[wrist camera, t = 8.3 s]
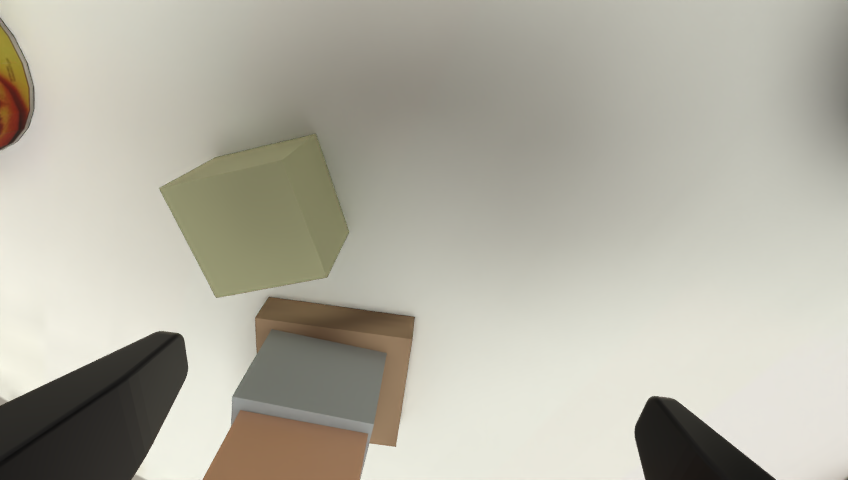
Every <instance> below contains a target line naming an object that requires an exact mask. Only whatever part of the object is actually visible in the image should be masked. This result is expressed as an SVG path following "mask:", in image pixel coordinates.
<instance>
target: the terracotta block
mask: <svg viewBox="0 0 848 480" xmlns="http://www.w3.org/2000/svg"><path fill="white" fill-rule="evenodd" d="M367 438H368V433H362V432H357V431H351V430H346V429H341V428H335V427H330V426H324V425H319V424H313V423H308V422H302V421H297V420H292V419H286V418H281V417H275V416H270V415H264V414H259V413H253V412H248V411H243V410H240V411H239V413H238V415H237V417H236V419H235V421H234V422H233V424H232V426H231V428H230V430H229V432H228V434H227V435H226V437H225V439H224V441H223V443H222V445H221V447H220V448H219V450H218V452H217V454H216V456H215V458H214V459H213V461H212V463H211V465H210V467H209V469H208V471H207V472H206V474H205V476H204V478H203V480H360V475H361V470H362V464H363V459H364V454H365V448H366V443H367Z"/></svg>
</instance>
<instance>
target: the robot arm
mask: <svg viewBox="0 0 848 480" xmlns="http://www.w3.org/2000/svg"><path fill="white" fill-rule="evenodd" d="M187 372H188V362H187V356H186V349H185V342H184V338H183V336H182V335H181V334H179V333H173V332H165V331H159V332H155V333H153V334H151V335H149V336H147V337H145V338H142V339H140V340H138V341H136V342H134V343H132V344H130V345H128V346H126V347H123V348H121V349H119V350H117V351H115V352H113V353H111V354H109V355H107V356H104V357H102V358H100V359H98V360H96V361H94V362H92V363H90V364H87V365H85V366H83V367H81V368H79V369H77V370H75V371H73V372H71V373H68V374H66V375H64V376H62V377H60V378H58V379H56V380H54V381H51V382H49V383H47V384H45V385H43V386H41V387H39V388H37V389H35V390H32V391H30V392H28V393H26V394H24V395H22V396H20V397H18V398H15V399H13V400H11V401H9V402H7V403H5V404H3V405H1V406H0V480H131V479H132V478H133V476H134V475H135V473H136V472H137V470H138V468H139V467H140V465H141V464H142V462H143V460H144V459H145V457H146V455H147V453H148V452H149V450H150V448H151V446H152V444H153V442H154V440H155V438H156V436H157V434H158V432H159V430H160V428H161V426H162V424H163V423H164V421H165V419H166V417H167V415H168V413H169V411H170V409H171V407H172V405H173V403H174V401H175V399H176V397H177V395H178V393H179V391H180V389H181V387H182V385H183V383H184V381H185V379H186V376H187ZM635 440H636V444H637V448H638V452H639V456H640V460H641V464H642V468H643V472H644V476H645V480H776V479H775V478H773V477H772V476H771V475H770V474H768V473H767V472H766V471H765V470H763V469H762V468H761V467H760V466H758V465H757V464H756V463H755V462H753V461H752V460H751V459H749V458H748V457H747V456H746V455H744V454H743V453H742V452H741V451H739V450H738V449H737V448H736V447H734V446H733V445H732V444H731V443H729V442H728V441H727V440H726V439H724V438H723V437H722V436H721V435H719V434H718V433H717V432H716V431H714V430H713V429H712V428H711V427H709V426H708V425H707V424H706V423H704V422H703V421H702V420H700V419H699V418H698V417H697V416H695V415H694V414H693V413H692V412H690V411H689V410H688V409H687V408H685V407H684V406H683V405H682V404H680V403H679V402H678V401H676V400H675V399H672V398H667V397H659V396H652V397H650V398H649V399H648V401H647V402H646V404H645V407H644V409H643V411H642V413H641V415H640V417H639V419H638V421H637V423H636V426H635Z"/></svg>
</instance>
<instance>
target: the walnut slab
mask: <svg viewBox="0 0 848 480" xmlns="http://www.w3.org/2000/svg"><path fill="white" fill-rule="evenodd" d="M414 319H415V317H411V316H404V315H396V314H389V313H382V312H375V311H367V310H360V309H353V308H346V307H338V306H331V305H324V304H317V303H309V302H302V301H295V300H288V299H280V298H273V297H269V298H268V299H267V301H266V302H265V304H264V305H263V307H262V308H261V310H260V311H259V313H258V314H257V316H256V317H255V327H256V348H257V353H258V352H259V350H260V348H261V347H262V345H263V343H264V341H265V340H266V338H267V336H268V335H269V333H270V331H271V329H273V330H278V331H283V332H288V333H293V334H297V335H302V336H307V337H312V338H317V339H322V340H326V341H331V342H336V343H341V344H346V345H351V346H355V347H360V348H365V349H370V350H375V351H379V352H384V353H387V355H386V360H385V366H384V371H383V377H382V382H381V388H380V393H379V399H378V404H377V410H376V415H375V421H374V426H373V430H372V434H371V438H370V442H369V443H371V444H379V445H387V446H394V447H396V442H397V436H398V429H399V423H400V416H401V409H402V403H403V396H404V390H405V383H406V377H407V370H408V364H409V357H410V351H411V344H412V337H413V328H414Z"/></svg>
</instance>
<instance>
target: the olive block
mask: <svg viewBox="0 0 848 480" xmlns="http://www.w3.org/2000/svg"><path fill="white" fill-rule="evenodd" d="M159 189H160V191H161V193H162V195H163V197H164V199H165V201H166V203H167V205H168V206H169V208H170V210H171V212H172V214H173V216H174V218H175V220H176V222H177V224H178V226H179V228H180V229H181V231H182V233H183V235H184V237H185V239H186V241H187V243H188V245H189V247H190V249H191V251H192V253H193V254H194V256H195V258H196V260H197V262H198V264H199V266H200V268H201V270H202V272H203V274H204V276H205V277H206V279H207V281H208V283H209V285H210V287H211V289H212V291H213V293H214V295H215V297H216V298H219V297H224V296H230V295H235V294H241V293H246V292H251V291H257V290H262V289H268V288H273V287H278V286H284V285H289V284H295V283H300V282H305V281H311V280H316V279H322V278H327V277H328V275H329V273H330V271H331V269H332V267H333V264H334V262H335V260H336V258H337V256H338V254H339V252H340V250H341V248H342V246H343V244H344V242H345V240H346V238H347V236H348V234H349V230H348V227H347V224H346V221H345V218H344V216H343V213H342V210H341V207H340V204H339V201H338V198H337V195H336V192H335V189H334V186H333V183H332V180H331V177H330V174H329V171H328V168H327V165H326V162H325V159H324V156H323V153H322V150H321V148H320V145H319V142H318V139H317V136H316V134H313V135H308V136H304V137H300V138H296V139H291V140H287V141H283V142H279V143H274V144H270V145H266V146H262V147H258V148H253V149H249V150H245V151H241V152H236V153H232V154H228V155H224V156H219V157H215V158H214V159H212V160H210V161H208V162H206V163H204V164H203V165H201V166H199V167H197V168H195V169H193V170H192V171H190V172H188V173H186V174H184V175H182V176H181V177H179V178H177V179H175V180H173V181H171V182H169V183H168V184H166V185H164V186H162V187H160V188H159Z"/></svg>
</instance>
